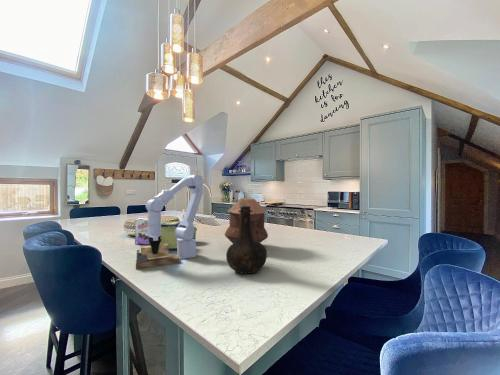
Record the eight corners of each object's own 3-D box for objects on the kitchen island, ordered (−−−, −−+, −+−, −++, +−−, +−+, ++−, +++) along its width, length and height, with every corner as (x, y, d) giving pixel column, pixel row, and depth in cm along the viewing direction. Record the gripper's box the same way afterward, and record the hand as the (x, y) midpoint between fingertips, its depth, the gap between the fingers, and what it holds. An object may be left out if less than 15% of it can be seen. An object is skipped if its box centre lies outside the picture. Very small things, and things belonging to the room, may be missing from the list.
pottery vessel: (230, 242, 153) (229, 197, 153) (269, 243, 150) (268, 196, 150) (219, 254, 128) (219, 199, 128) (266, 255, 124) (266, 199, 124)
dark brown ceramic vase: (259, 280, 91) (259, 208, 91) (218, 274, 97) (218, 207, 97) (271, 265, 108) (271, 205, 108) (236, 261, 114) (235, 204, 114)
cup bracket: (146, 258, 113) (146, 249, 113) (146, 261, 107) (146, 252, 107) (136, 259, 111) (136, 250, 111) (136, 263, 106) (136, 253, 106)
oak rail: (167, 253, 116) (167, 243, 116) (168, 255, 113) (168, 245, 113) (140, 257, 111) (140, 246, 111) (140, 259, 108) (140, 248, 108)
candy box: (134, 244, 152) (134, 219, 152) (140, 242, 158) (139, 217, 158) (153, 244, 150) (153, 219, 150) (159, 242, 156) (158, 218, 156)
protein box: (178, 250, 135) (177, 224, 135) (151, 251, 136) (150, 224, 136) (183, 246, 146) (183, 221, 146) (158, 246, 146) (158, 221, 146)
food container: (192, 245, 148) (192, 229, 148) (183, 244, 149) (183, 229, 149) (200, 240, 160) (200, 226, 160) (191, 240, 162) (191, 226, 162)
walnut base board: (177, 259, 120) (177, 254, 120) (179, 263, 113) (179, 257, 113) (135, 264, 111) (135, 259, 111) (135, 269, 105) (135, 263, 105)
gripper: (145, 223, 117) (145, 250, 117) (145, 227, 103) (146, 258, 103) (160, 222, 120) (160, 248, 120) (162, 226, 106) (163, 255, 106)
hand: (154, 252), depth 112 cm, fingers closed on oak rail, 3 cm apart
